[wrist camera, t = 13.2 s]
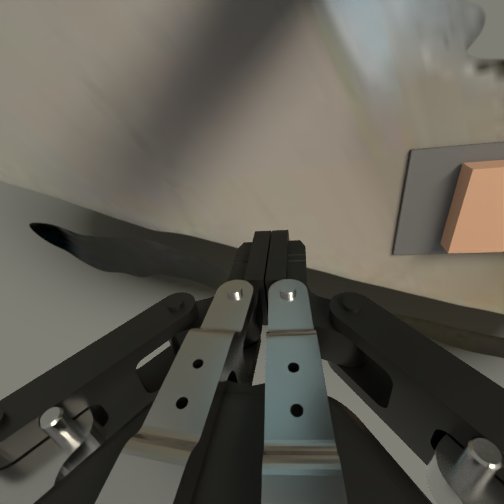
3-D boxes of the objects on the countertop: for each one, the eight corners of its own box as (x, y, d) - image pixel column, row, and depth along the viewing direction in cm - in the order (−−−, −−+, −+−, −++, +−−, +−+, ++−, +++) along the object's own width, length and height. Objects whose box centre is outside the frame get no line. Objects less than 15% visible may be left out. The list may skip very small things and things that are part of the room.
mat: (392, 253, 45) (393, 254, 45) (410, 149, 37) (411, 150, 36) (562, 248, 41) (565, 250, 41) (628, 130, 33) (632, 131, 32)
